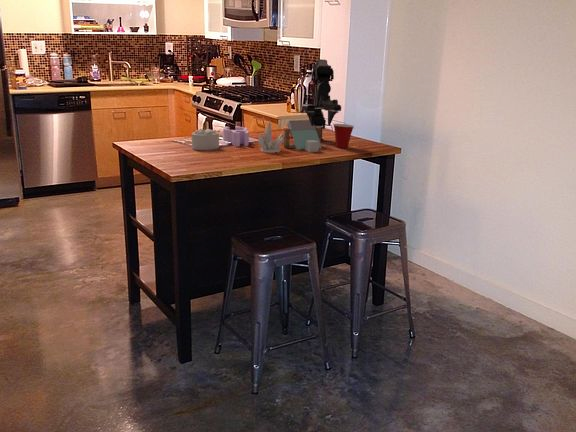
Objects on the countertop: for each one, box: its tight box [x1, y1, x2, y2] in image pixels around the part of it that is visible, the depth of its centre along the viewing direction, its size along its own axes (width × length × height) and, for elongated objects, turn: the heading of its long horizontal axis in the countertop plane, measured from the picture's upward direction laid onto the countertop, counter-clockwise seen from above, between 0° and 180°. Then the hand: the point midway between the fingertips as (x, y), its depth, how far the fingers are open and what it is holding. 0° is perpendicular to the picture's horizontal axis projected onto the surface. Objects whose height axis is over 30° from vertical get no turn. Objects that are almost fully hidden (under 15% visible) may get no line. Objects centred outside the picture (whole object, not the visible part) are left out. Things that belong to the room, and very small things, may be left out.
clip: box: [222, 125, 250, 147], centre depth 286 cm, size 20×12×7 cm, turn 23°
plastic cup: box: [333, 123, 355, 149], centre depth 284 cm, size 11×11×12 cm
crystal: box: [257, 120, 284, 154], centre depth 269 cm, size 10×13×15 cm
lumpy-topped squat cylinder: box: [191, 128, 220, 151], centre depth 270 cm, size 10×13×9 cm
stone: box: [304, 140, 320, 153], centre depth 274 cm, size 5×5×5 cm
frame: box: [283, 127, 323, 149], centre depth 281 cm, size 2×20×10 cm, turn 116°
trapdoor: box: [286, 119, 322, 150], centre depth 280 cm, size 16×14×4 cm
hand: (320, 125), depth 268 cm, fingers open, 9 cm apart
